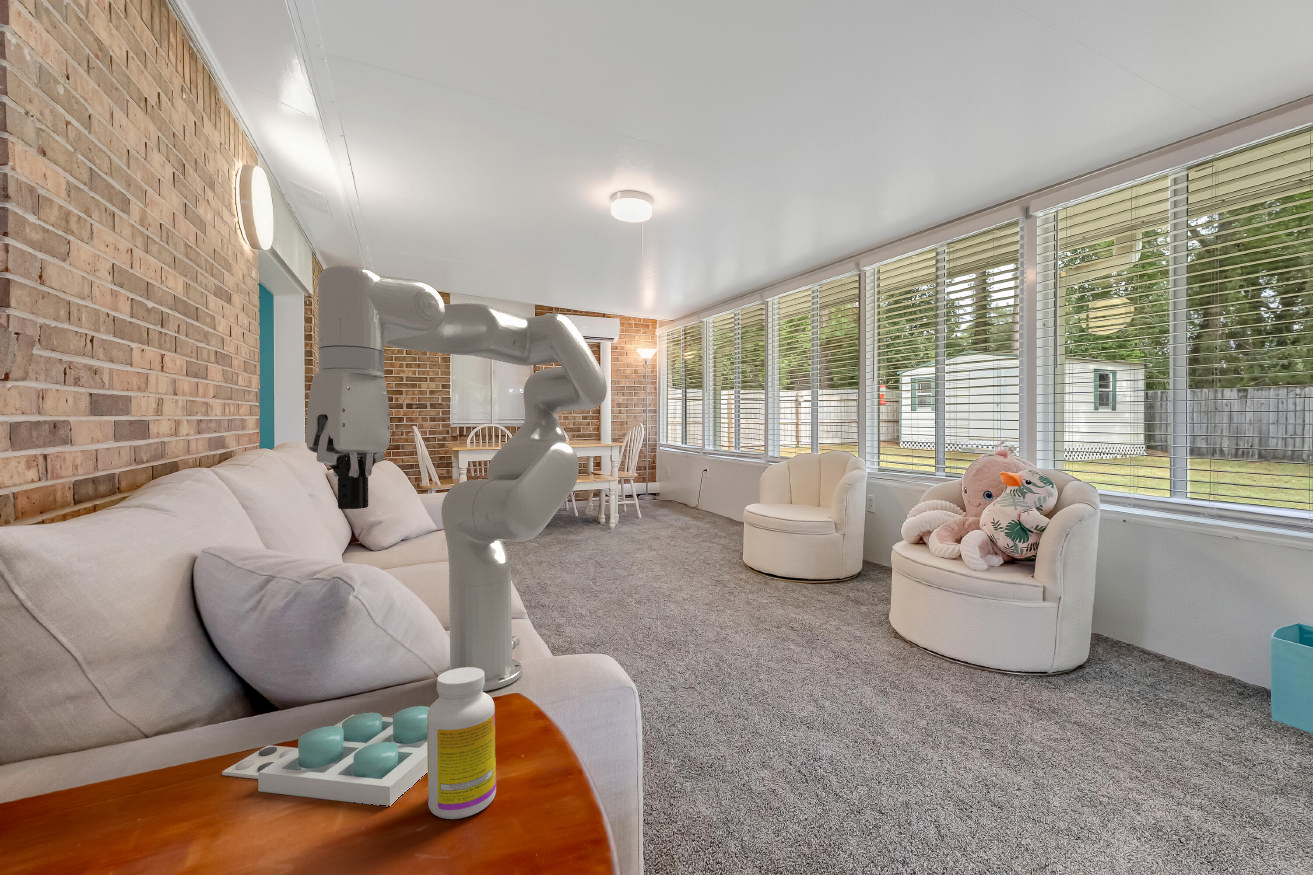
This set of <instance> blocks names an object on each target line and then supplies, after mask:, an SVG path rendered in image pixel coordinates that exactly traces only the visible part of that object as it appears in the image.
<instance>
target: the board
mask: <svg viewBox="0 0 1313 875" xmlns="http://www.w3.org/2000/svg"><path fill="white" fill-rule="evenodd" d="M355 715H356V714H351V715H349V716H348V717H346V718H345V719H342V720H341V721H339V722H338V723H336V724H335V725H334V726H338V727H341V728H342V723H343V722H344V721H345V720H346V719H348V718H350V717H352V716H355ZM380 742H392V743H395V742H394V741H393V717H390V716H389V717H387V716H382V732H381V733H380V734H378V735H377V736H376V737H374V738H373V739H371V740H370V741H369V742H367V743H359V742H348V741H344V754H343V756H342V757H341V758H340V759H338V760H337V761H335V762H333V763H331V764H329V765H326V766H323V767H318V768H302V767H300V766H299V765H298V747H296V748H297V749H295V750H294V751H292V752H291V753H289V754H287V755H286V756H284V757H282V758H281V759H279V760H278V761H276V762H274V763H273V764H271V765H269V766H268V767H266V768H265V769H263V770H261V771H260V772H258V779H257V780H258V781H257V782H258V788H257V789H258V791H257V792H259V793H260V792H261V793H262V792H263V793H272V794H279V795H280V794H281V795H288V796H294V797H304V798H311V799H321V800H328V801H329V800H330V801H339V802H346V803H354V802H355V803H356V804H362V803H363V804H364V805H371V804H373V806H379V805H380V804H381V805H386V806H385V807H388V805H389V806H390V807H391V805H392V804H393V803H394V802H395V801H396V800H397V799H398V797H400V796H401V795H402V794H404V792H406V791H407V790H408V789H409V788H410V789H411V788H413V787H414V786H415V785H416V784H417V783H418V782H419V781H420V780H422V778H423V777H425V776H426V775H427V774H428V756H427V738H426V739H424V740H422V741H420V742H416V743H412V744H398V743H395V744H397V746H398V766H397V767H396V768H395V769H393V770H392V771H391V772H390V773H388V774H387V775H386V776H385V777H384V778H382V779H374V778H364V777H355V776H354V759H353V757H354V754H355V753H356V752H357V751H358V750H360V749H362V748H364V747H366V746H368V745H371V744H375V743H380ZM426 773H427V774H426ZM425 774H426V775H425ZM424 775H425V776H424ZM422 776H423V777H422ZM421 777H422V778H421ZM419 779H420V780H419ZM418 780H419V781H418ZM417 781H418V782H417ZM416 782H417V783H416ZM415 783H416V784H415ZM414 784H415V785H414ZM413 785H414V786H413ZM410 789H409V790H410ZM409 790H408V791H409ZM408 791H407V792H408ZM407 792H406V793H407ZM404 795H405V794H404ZM401 797H402V796H401ZM401 797H400V798H401ZM398 800H399V799H398ZM398 800H397V801H398ZM397 801H396V802H397ZM396 802H395V803H396ZM395 803H394V804H395ZM363 804H362V805H363ZM394 804H393V805H394Z"/></svg>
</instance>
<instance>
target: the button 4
mask: <svg viewBox="0 0 1313 875" xmlns="http://www.w3.org/2000/svg"><path fill="white" fill-rule="evenodd" d="M429 708H430V706H425V705H418V706H410V707H407V708H404V709H400V710H399V711H397V712H396V713H394V715H393V716H392V718H393V741H394V742H395V743H398V744H412V743H416V742H420V741H422V740H424V739H426V738H427V713H428V710H429Z"/></svg>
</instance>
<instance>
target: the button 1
mask: <svg viewBox="0 0 1313 875" xmlns="http://www.w3.org/2000/svg"><path fill="white" fill-rule="evenodd" d="M297 748H298V765H299V766H300V767H302V768H318V767H323V766H326V765H329V764H331V763H333V762H335V761H337V760H338V759H340V758H341V757H342V756H343V754H344V730H343V728H341V727H338V726H335V725H328V726H321V727H318V728H314V729H311V730H309V731H307V732H305V733H303V734H301V736H299V738H298V740H297Z"/></svg>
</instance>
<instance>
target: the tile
mask: <svg viewBox="0 0 1313 875" xmlns="http://www.w3.org/2000/svg"><path fill="white" fill-rule="evenodd" d="M297 748H298V747H292V746H282V745H281V746H280V745H279V746H278V745H271V744H270V745H269V744H268V745H266V746H264V747H262V748H260V749H259V750H260V751H259V750H257V751H255V752H253V753H252V754H249V756H247V757H245V758H243V759H241V760H240V761H238V762H237V763H235V764H233V765H231V766H229V767H227V768H226V769H224V770H222V771H221V772H222V774H221V775H222V776H229V777H236V778H237V777H238V778H244V779H245V778H246V779H254V780H258V772H260V771H261V770H263V769H265V768H266V767H268V766H269V765H271V764H273V763H274V762H276V761H278V760H279V759H281V758H282V757H284V756H286V755H287V754H289V753H291V752H292V751H294V750H295V749H297Z"/></svg>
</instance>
